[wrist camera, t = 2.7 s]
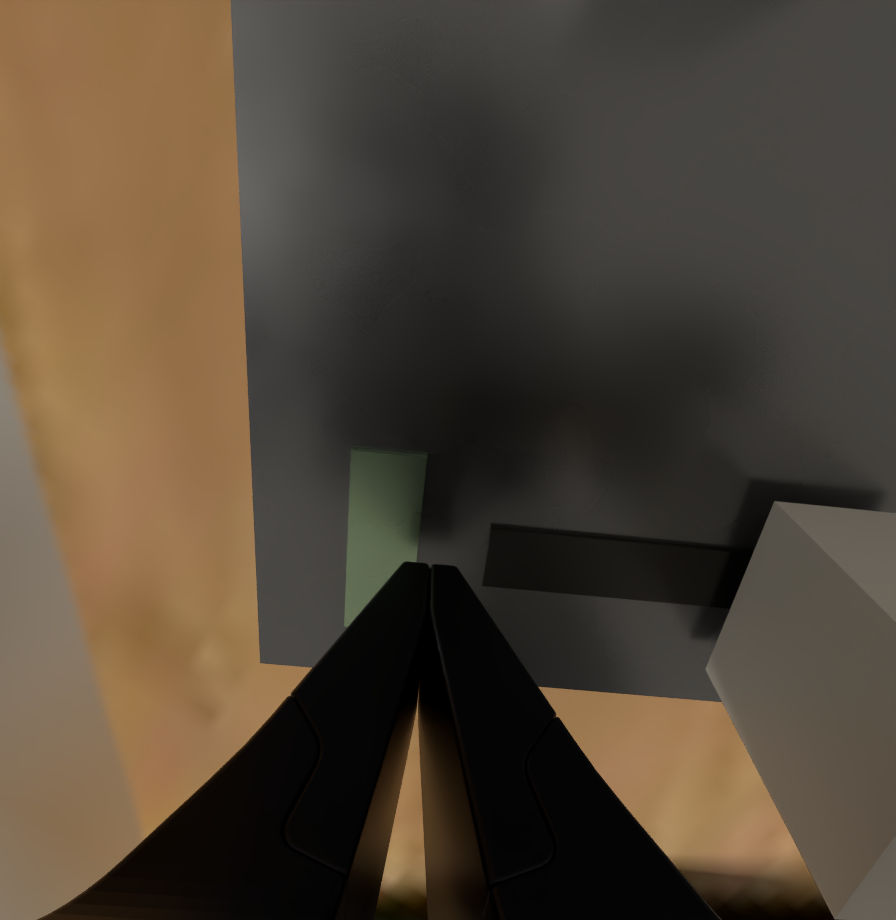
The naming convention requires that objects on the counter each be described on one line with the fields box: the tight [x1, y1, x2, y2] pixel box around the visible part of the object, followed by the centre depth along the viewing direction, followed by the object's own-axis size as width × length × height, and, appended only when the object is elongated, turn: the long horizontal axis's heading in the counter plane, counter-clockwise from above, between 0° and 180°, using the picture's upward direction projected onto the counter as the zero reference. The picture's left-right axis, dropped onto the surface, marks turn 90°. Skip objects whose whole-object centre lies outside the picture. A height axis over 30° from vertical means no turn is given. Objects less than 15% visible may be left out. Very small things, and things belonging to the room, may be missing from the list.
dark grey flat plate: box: [231, 0, 896, 702], centre depth 9 cm, size 16×19×2 cm
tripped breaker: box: [705, 501, 896, 920], centre depth 8 cm, size 4×2×4 cm, turn 174°
